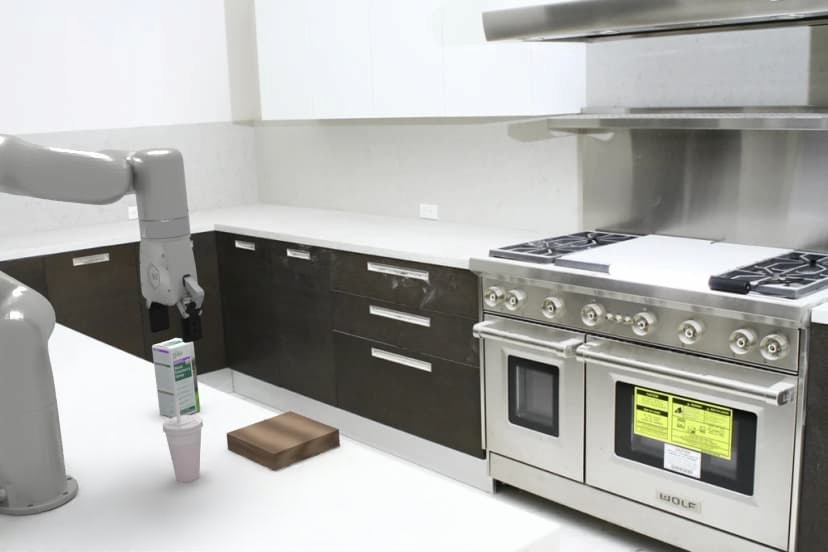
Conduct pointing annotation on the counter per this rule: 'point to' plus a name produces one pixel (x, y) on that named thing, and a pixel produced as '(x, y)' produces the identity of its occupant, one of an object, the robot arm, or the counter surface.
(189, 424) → the smoothie
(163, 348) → the syrup box
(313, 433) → the walnut base
